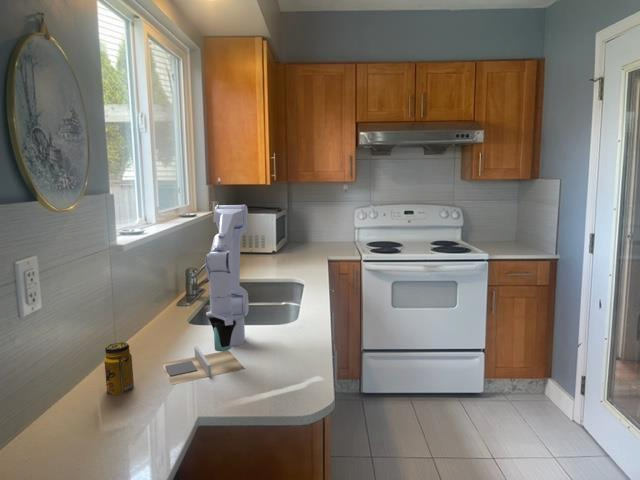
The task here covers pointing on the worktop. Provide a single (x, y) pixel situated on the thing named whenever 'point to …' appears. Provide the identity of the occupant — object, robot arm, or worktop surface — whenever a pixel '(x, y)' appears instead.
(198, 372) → the board
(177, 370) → the pad
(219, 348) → the peg
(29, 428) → the worktop surface
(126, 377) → the condiment
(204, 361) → the fence
